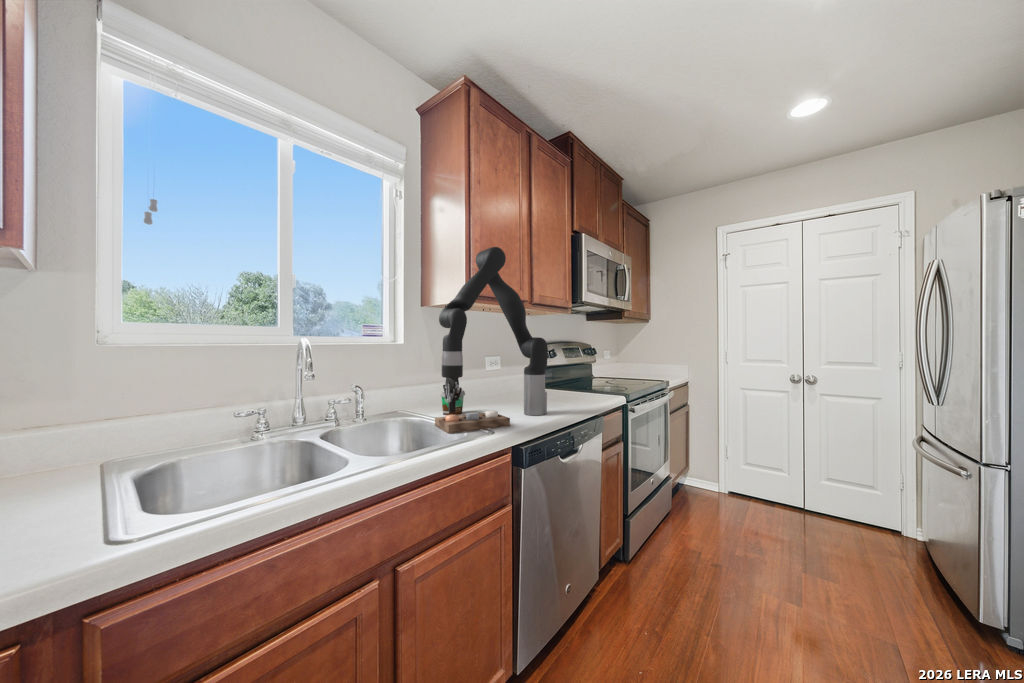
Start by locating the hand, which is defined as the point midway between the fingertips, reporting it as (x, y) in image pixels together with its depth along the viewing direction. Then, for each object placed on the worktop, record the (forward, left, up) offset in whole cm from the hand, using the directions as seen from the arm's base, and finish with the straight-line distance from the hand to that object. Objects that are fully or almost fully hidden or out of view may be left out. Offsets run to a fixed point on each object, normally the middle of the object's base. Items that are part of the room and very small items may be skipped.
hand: (451, 412), depth 137 cm
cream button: (-16, 0, -4) cm, 17 cm away
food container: (-12, -25, -6) cm, 28 cm away
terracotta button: (0, 0, -4) cm, 4 cm away
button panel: (-8, 0, -6) cm, 10 cm away
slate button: (-8, 0, -4) cm, 9 cm away
